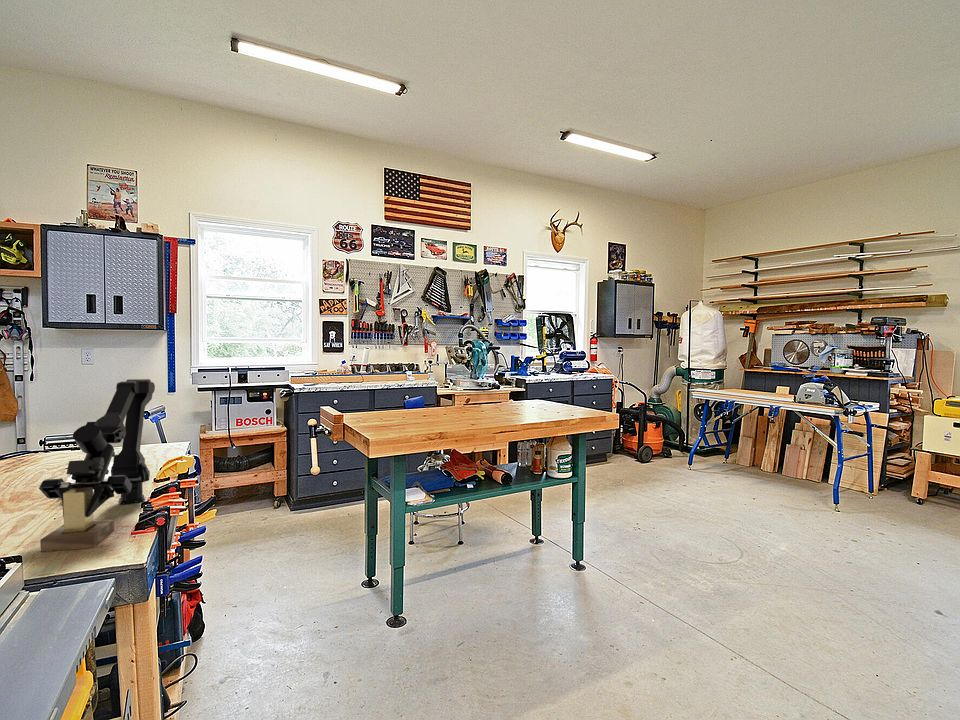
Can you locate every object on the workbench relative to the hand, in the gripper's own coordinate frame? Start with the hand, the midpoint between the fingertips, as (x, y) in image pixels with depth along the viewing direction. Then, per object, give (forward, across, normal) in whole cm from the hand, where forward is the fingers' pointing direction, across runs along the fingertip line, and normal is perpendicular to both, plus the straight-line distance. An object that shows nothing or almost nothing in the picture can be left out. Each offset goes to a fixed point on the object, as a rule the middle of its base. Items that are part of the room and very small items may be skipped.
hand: (75, 517), depth 123 cm
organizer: (-33, -19, +43) cm, 57 cm away
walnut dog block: (+4, 0, +6) cm, 7 cm away
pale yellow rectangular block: (+4, 0, +6) cm, 7 cm away
